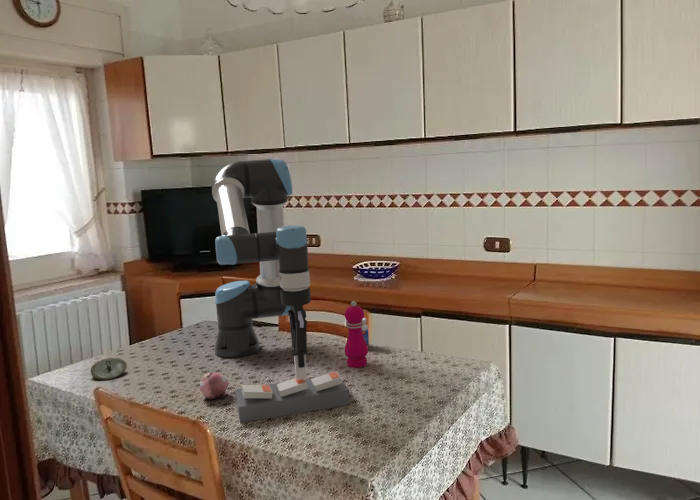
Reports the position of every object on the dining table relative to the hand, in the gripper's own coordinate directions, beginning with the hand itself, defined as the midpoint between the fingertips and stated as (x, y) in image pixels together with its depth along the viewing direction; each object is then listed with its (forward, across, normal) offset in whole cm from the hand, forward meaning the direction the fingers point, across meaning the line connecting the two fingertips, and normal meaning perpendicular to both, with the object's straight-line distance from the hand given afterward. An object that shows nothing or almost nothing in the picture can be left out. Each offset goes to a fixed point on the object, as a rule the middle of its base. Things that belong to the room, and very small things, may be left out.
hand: (301, 377), depth 150 cm
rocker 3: (+2, 0, +6) cm, 7 cm away
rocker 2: (+2, 0, -2) cm, 3 cm away
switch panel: (+8, -2, -2) cm, 8 cm away
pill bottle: (+8, -41, +28) cm, 50 cm away
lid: (+8, -47, -53) cm, 71 cm away
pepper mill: (+8, -25, +22) cm, 34 cm away
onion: (+8, -16, -22) cm, 28 cm away
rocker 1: (+2, 0, -12) cm, 12 cm away
